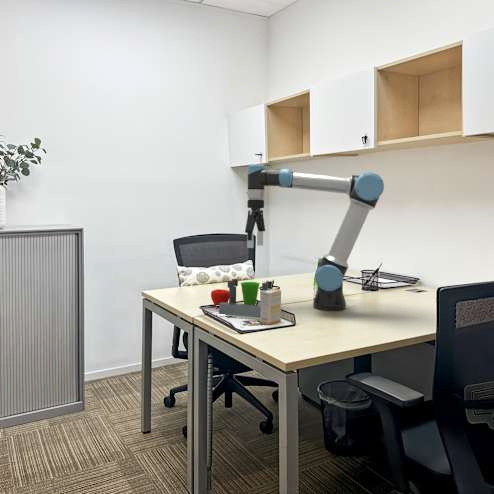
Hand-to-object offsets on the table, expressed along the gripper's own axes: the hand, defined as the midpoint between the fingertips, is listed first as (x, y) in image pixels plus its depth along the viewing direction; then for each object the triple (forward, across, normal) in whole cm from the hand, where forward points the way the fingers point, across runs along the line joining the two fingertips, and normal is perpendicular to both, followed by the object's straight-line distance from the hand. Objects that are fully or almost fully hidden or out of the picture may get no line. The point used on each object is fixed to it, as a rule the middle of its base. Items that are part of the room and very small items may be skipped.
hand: (255, 246), depth 227 cm
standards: (+29, +7, 0) cm, 30 cm away
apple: (+29, 0, -17) cm, 34 cm away
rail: (+28, +16, 0) cm, 32 cm away
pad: (+29, +16, 0) cm, 33 cm away
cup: (+29, -5, -4) cm, 30 cm away
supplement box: (+29, +21, +14) cm, 38 cm away
